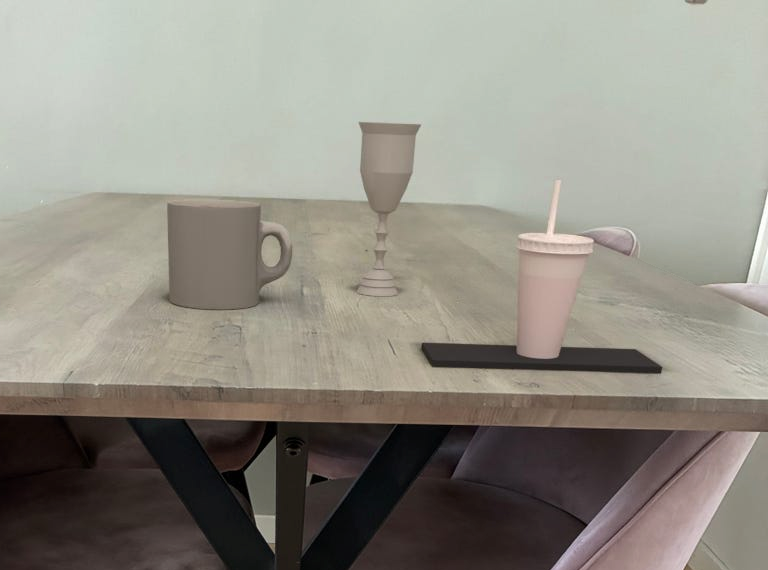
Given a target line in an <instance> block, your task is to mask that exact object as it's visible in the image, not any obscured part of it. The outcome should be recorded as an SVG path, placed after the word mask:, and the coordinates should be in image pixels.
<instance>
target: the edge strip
mask: <svg viewBox="0 0 768 570" xmlns="http://www.w3.org/2000/svg"><path fill="white" fill-rule="evenodd" d="M420 346H421V347H420V349H421V351H422V352H423V354H424V355H425V357H426V359H427V360H428V362H429V364H430V366H431V367H432V368H434V367H435V368H461V369H462V368H464V369H491V370H492V369H493V370H494V369H495V370H496V369H497V370H529V371H530V370H532V371H558V372H559V371H560V372H561V371H563V372H565V371H566V372H593V373H595V372H596V373H597V372H598V373H625V374H626V373H627V374H629V373H630V374H657V375H658V374H662V372H663V366H662V365H660V364H659V363H657V362H656V361H655V360H653V359H651V358H650V357H648V356H647V355H645V354H643V353H642V352H641V351H640V350H638V349H636V348H610V347H609V348H608V347H581V346H580V347H576V346H561V349H560V353H559V356H558V357H556V358H550V359H540V358H530V357H525V356H522V355H519V354H517V344H516V345H515V344H514V345H513V344H483V343H482V344H481V343H479V344H478V343H453V342H452V343H451V342H450V343H449V342H421V345H420Z"/></svg>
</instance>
